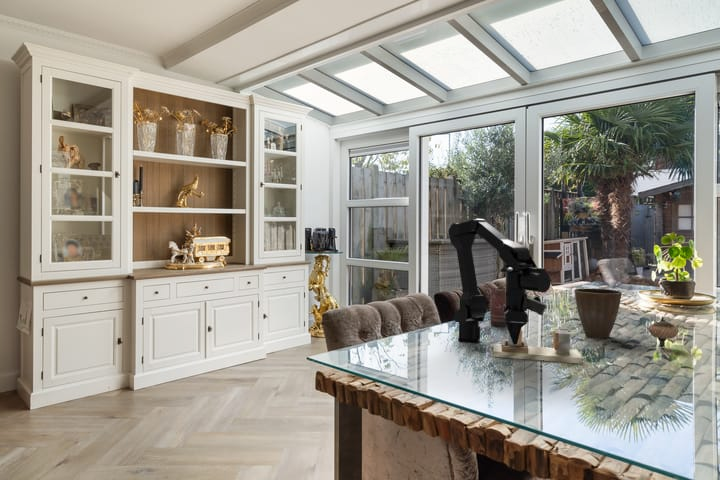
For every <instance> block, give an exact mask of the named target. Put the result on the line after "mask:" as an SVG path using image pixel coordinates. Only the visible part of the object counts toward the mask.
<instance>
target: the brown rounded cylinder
mask: <svg viewBox="0 0 720 480" xmlns="http://www.w3.org/2000/svg"><path fill="white" fill-rule="evenodd" d="M505 290H506V288H491V290H490V309H489V311H490V312H489V313H490V314H489V319H490V320H489V321H490V325H491V326H493V327H507V326H506V323H505V316H504V313H505V312H504V304H505Z"/></svg>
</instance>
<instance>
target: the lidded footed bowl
mask: <svg viewBox="0 0 720 480" xmlns="http://www.w3.org/2000/svg"><path fill="white" fill-rule="evenodd" d="M647 331H648V332H649V333H650V335H651V336H653V338H657V340H658V342H659V343H658V346H659V348H662V349H663V348H666V345H665V344H666V340H669V339H674V338H676V337H677V335H678V334H679V328H678V326H676V325H674V324H672V323H671V322H669V321H666V320H665V319H664V316H661V319H660V321H657V322H654V323H652V324H649V326H648V327H647Z"/></svg>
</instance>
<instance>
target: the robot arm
mask: <svg viewBox="0 0 720 480" xmlns="http://www.w3.org/2000/svg"><path fill="white" fill-rule="evenodd" d="M477 235H478V236H479V237H481V238H482V239H483V240H484V241H485V242H486V243H488V244H489V245H490V246H492V247H493V249H495V250H496V251H497V253H498V257H499V259H501V260H502V262H503V264H504V267H502V268H501V269H500V270H499V272H501V273H505V289H506V290H505V304H504V312H505V313H504V316H505V323H506V326H505V327H506V328H507V332H508V331H509V334H510V337H511V339H512V342H513V344H517V343H518V339H519V335H520V331H521V329H522V328H523V327H524V326H526V325H528V323H529V315H528V313H527V311H528V310H529V311H530V312H533V313H536V314H537V315H539V316H543V315H544V312H545V310H546V308H547V304H546V303H544V302H542V299H541V297H539V296H537V295H535V296H533V297H528V293H527V291H531V292H535V293H536V292H537V293H546V292H548V291H549V289H550V287H551V284H552V280H551V277H550V275H549V274H548V272H547V268H546V267H538V266H537V264H536V262H535V261H534V259H533V257H532V255H531V251H530V249H528V247H526V246H525V245H523V244H521V243H519V242H515V241H513V240H510V239H509V238H508V237H506V236H505V235H504V234H503V233H501V232H499V231H498V229H496V228H495V227H493V226H492V225H491V224H490V223H488V220H487V219H484V218H472V219H470V220H466V221H463V222H459V223H458V222H454V223H452V224H451V225H450V227H448V237H449V240H450V244H451V245H452V246H453V247H454V249H455V250H456V254H457V262H458V268H459V276H460V281H461V289H462V293H461V296H460V299H459V308H458V310H456V312H455V313H453V320H454V322H455V323H458V338H457V341H458V342H464V343H465V342H466V343H467V342H468V343H479V341H480V340H481V326H480V325H479V323H483V322H484V319H485V317H486V314H487V312H488V311H487V310H488V308H489V306H488V304H487V296H486V295H485V294H481V292H480V291H479V288H478V281H477V275H476V269H475V261H474V256H473V249H472V248H473V245H474V243H475V239H476V236H477Z"/></svg>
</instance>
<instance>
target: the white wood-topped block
mask: <svg viewBox="0 0 720 480" xmlns="http://www.w3.org/2000/svg"><path fill="white" fill-rule="evenodd" d="M507 340H508V346H514V347H522V341H523V330H522V328H521V331H520V335H519V339H518V343H517V344H513V342H512V339H511V337H510V334H509V331H508V330H507Z"/></svg>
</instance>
